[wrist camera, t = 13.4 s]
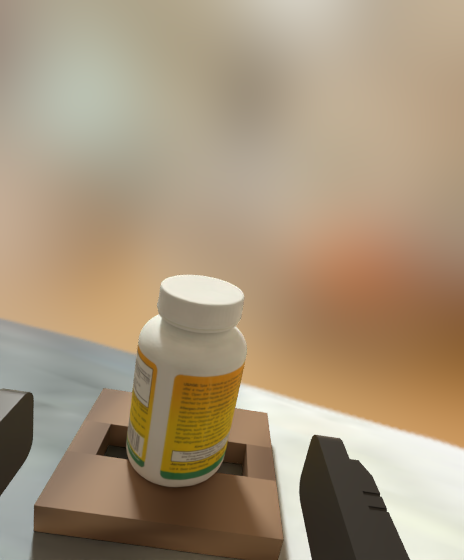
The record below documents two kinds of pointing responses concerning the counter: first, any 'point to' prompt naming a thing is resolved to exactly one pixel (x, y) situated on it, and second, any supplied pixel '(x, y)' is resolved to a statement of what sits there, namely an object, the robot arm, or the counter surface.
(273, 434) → the counter surface
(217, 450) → the supplement bottle
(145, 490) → the walnut trivet
